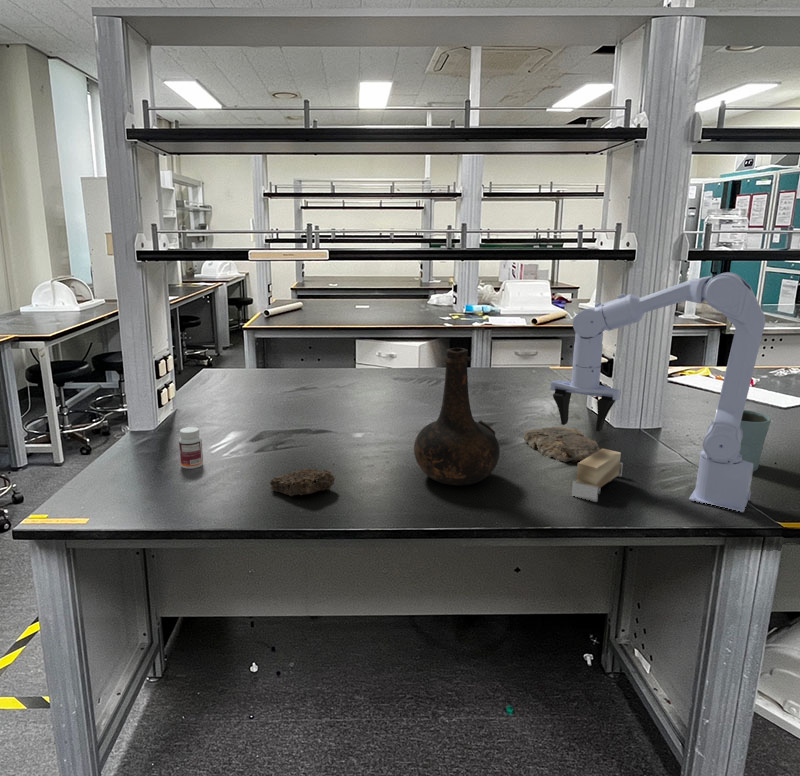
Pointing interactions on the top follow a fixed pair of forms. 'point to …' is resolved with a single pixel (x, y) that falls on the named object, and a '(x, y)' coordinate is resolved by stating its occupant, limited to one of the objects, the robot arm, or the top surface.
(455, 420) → the glass bottle
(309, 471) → the brown rock
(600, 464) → the oak block
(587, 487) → the grey blocks and balls
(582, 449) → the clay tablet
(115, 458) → the top surface
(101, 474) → the top surface
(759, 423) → the green ceramic planter
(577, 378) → the robot arm
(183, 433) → the pill bottle
